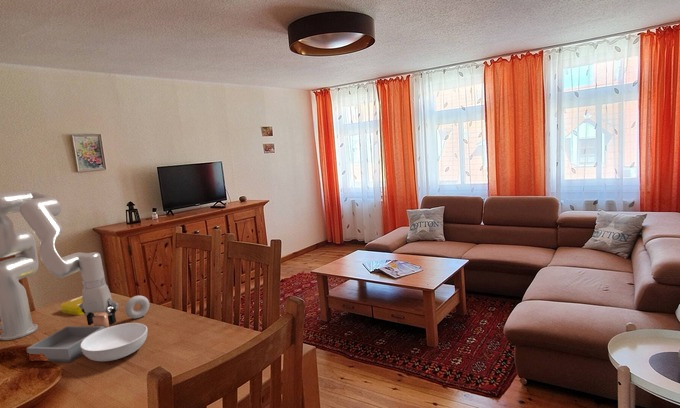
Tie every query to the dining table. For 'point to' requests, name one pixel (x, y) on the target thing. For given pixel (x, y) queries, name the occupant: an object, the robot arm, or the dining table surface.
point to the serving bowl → (114, 342)
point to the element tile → (72, 306)
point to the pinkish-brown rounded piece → (101, 320)
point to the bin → (63, 343)
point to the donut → (139, 313)
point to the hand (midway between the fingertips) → (102, 323)
